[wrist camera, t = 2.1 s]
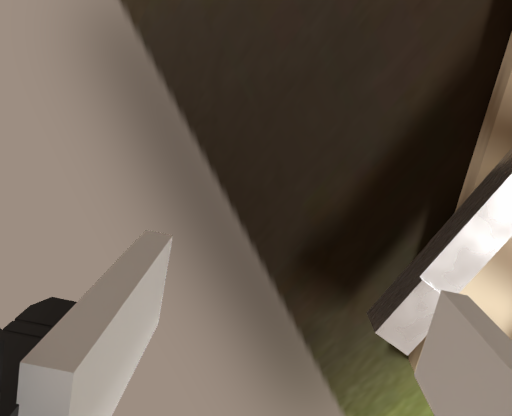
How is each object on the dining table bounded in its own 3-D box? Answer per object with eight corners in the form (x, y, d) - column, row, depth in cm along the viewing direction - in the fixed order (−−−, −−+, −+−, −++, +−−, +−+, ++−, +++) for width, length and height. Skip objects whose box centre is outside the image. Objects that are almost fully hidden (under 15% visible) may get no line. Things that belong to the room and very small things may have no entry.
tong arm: (609, 36, 25) (646, 30, 22) (641, 64, 25) (681, 61, 22) (366, 312, 29) (375, 332, 26) (396, 334, 29) (407, 355, 27)
